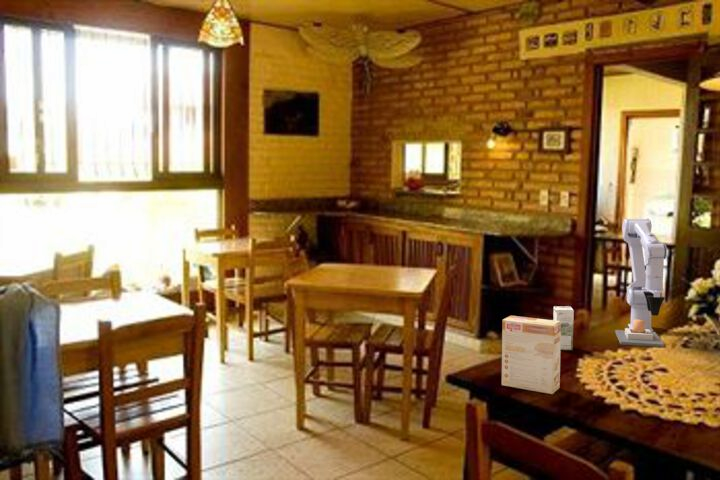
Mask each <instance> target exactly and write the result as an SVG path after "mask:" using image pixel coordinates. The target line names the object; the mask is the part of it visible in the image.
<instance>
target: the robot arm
mask: <svg viewBox="0 0 720 480" xmlns="http://www.w3.org/2000/svg"><path fill="white" fill-rule="evenodd" d="M652 227H653V226H652V221H651V220H650V218H624V219H623V221H622V226H621V229H622V239H623V241H624V242H625V243H627V244H628V249H629V256H630V263H631V271H632V280H633V282H631V283H630V284H629V285H628V286H627V287H626V302H627V304H628V305H629V306H630V307H631V308H630V323H628V324H627V326H628V328H633V320H635V319H639V320H644V321H645V329H649V330H650V331H651V332H654V329H653V327H652V316H655V317H656V316H657V317H658V316H659V315H660V311H661V306H662V304H663V302H664V301H665V297H664V296H661V294H662V292H664V288H663V287H664V286H663V285H664V263H665V261H664V260H665V259H666V258H667V255H668V249H667V245H666V243H665V242H660V241H659V238H658V237H657V236H656V234H655V233H652ZM643 249H644V250H643ZM645 264H646V265H645Z"/></svg>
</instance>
